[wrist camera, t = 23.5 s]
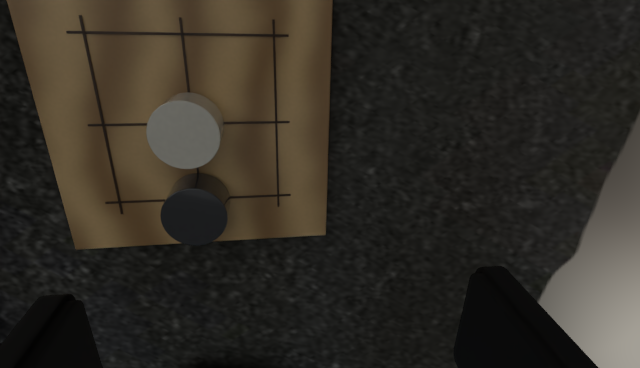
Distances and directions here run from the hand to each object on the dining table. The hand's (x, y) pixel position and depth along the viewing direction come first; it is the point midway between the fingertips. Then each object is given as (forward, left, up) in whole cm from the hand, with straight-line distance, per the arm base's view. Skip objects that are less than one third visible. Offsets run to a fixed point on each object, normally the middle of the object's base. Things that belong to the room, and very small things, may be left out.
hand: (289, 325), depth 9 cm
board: (+6, 0, -22) cm, 22 cm away
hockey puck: (+6, +6, -21) cm, 22 cm away
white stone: (+6, 0, -21) cm, 21 cm away
